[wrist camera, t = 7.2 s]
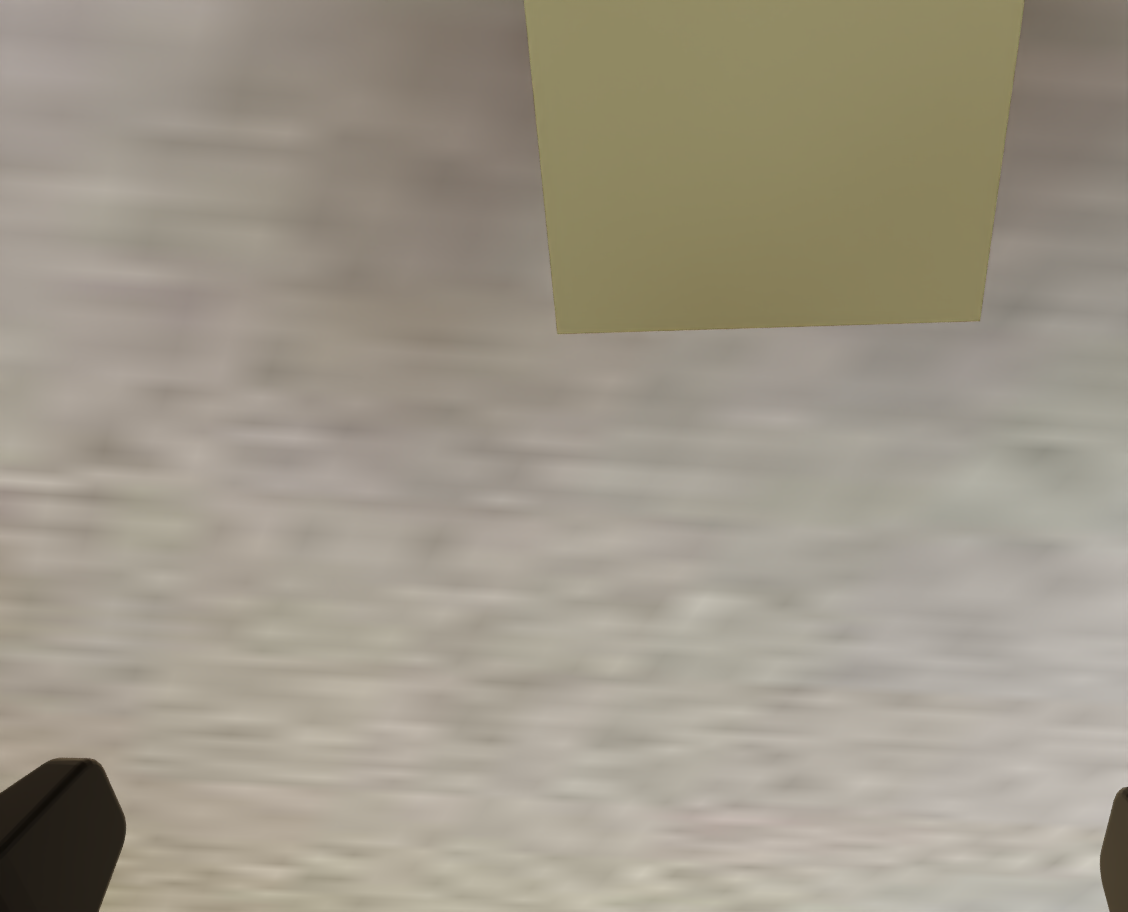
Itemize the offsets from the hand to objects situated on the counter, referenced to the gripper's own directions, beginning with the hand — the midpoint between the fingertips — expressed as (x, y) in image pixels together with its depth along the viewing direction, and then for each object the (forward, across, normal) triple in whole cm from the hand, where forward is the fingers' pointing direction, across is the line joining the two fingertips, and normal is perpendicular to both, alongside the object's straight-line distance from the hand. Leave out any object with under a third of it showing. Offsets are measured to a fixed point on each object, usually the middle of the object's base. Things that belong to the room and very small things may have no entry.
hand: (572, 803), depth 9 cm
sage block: (+7, -2, -5) cm, 9 cm away
